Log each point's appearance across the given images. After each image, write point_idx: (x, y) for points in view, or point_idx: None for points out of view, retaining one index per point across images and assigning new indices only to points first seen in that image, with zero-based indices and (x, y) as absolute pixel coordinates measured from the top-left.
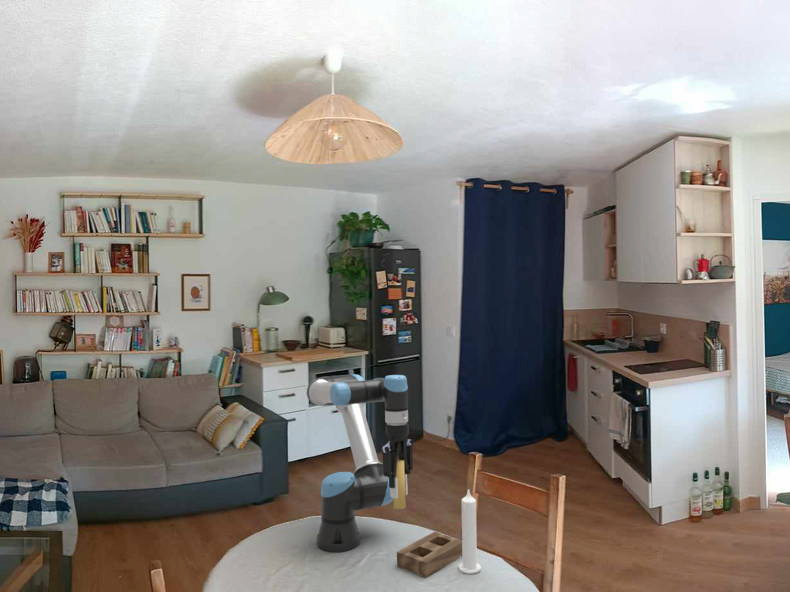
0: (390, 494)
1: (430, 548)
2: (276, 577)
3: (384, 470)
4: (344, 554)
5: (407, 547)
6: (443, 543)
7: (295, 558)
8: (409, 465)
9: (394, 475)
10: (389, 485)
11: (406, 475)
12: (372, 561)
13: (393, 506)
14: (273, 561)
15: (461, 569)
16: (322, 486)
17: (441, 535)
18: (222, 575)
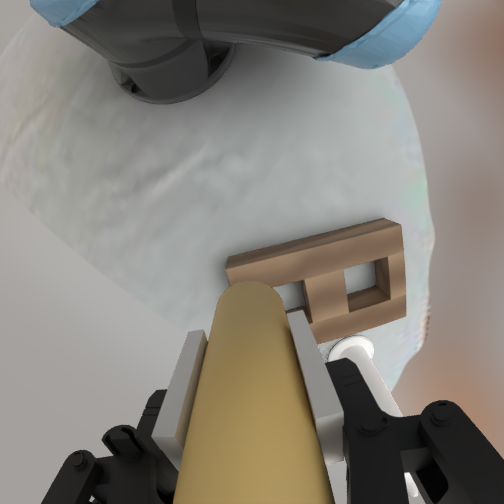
0: (186, 341)
1: (317, 306)
2: (12, 157)
3: (58, 498)
4: (147, 118)
5: (269, 265)
6: (382, 268)
7: (59, 90)
8: (423, 488)
9: (165, 499)
10: (149, 405)
11: (332, 457)
12: (187, 196)
13: (216, 307)
14: (30, 88)
15: (330, 359)
16: None
17: (396, 257)
18: None
